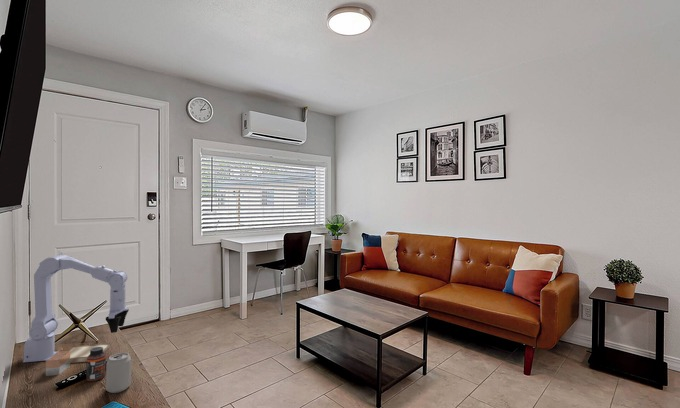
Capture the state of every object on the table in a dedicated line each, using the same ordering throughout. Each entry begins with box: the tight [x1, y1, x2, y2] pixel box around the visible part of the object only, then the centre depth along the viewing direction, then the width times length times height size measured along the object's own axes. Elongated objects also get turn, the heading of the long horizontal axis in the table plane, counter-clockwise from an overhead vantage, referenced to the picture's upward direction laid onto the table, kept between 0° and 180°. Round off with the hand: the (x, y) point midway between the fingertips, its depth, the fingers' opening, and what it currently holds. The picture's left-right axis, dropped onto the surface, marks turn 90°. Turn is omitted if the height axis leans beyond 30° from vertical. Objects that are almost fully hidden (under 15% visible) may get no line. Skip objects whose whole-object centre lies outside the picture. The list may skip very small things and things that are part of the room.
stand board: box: [69, 343, 111, 364], centre depth 149 cm, size 14×14×2 cm
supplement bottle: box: [85, 347, 107, 382], centre depth 130 cm, size 6×6×11 cm
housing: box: [45, 350, 71, 377], centre depth 136 cm, size 4×8×6 cm, turn 15°
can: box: [105, 352, 132, 394], centre depth 123 cm, size 8×8×12 cm
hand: (117, 329), depth 153 cm, fingers open, 7 cm apart
